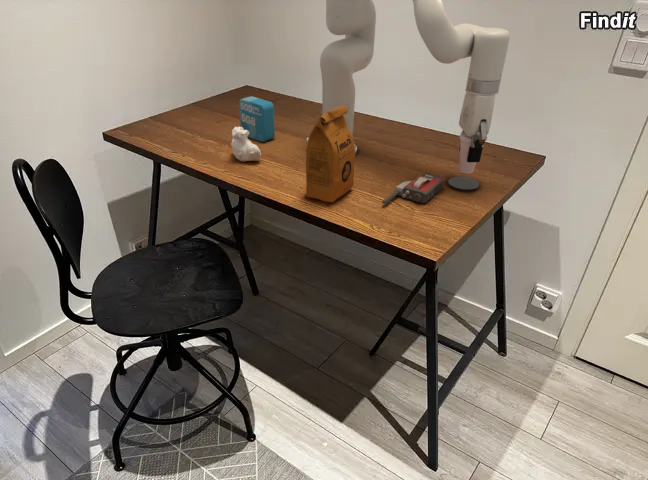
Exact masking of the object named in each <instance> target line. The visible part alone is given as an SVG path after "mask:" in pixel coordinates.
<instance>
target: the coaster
mask: <svg viewBox="0 0 648 480" xmlns="http://www.w3.org/2000/svg"><path fill="white" fill-rule="evenodd" d="M447 185H448V186H449V188H451V189H452V190H455V191H459V192H473V191H476V190H479V188H480V183H479V181H478V180H476V179H474V178H471V177H468V176H453V177H451V178H449V179H448V180H447Z"/></svg>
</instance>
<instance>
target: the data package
mask: <svg viewBox="0 0 648 480" xmlns="http://www.w3.org/2000/svg"><path fill="white" fill-rule="evenodd" d="M238 105H239V120H240V127H243V129H244V130H247V131H249V133H250V134H249V135H248V137H247V138H250V139H253V140H256V141H258V142H260V143H265V142H268V141H271V140H273V139H274V138H275V136H276V133H275V131H276V130H275V107H274V103H273V102H271V101H269V100H266V99H262V98H259V97H256V96H252V95H251V96H246V97H243V98H240V100H239V102H238Z"/></svg>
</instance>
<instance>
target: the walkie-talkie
mask: <svg viewBox="0 0 648 480" xmlns="http://www.w3.org/2000/svg"><path fill="white" fill-rule="evenodd" d="M444 181H445V179H444V178H443V177H442V176H440V175H437V174H432V173H428V172H424V173H421V174H420V175H418V176H417V177H415V178H414V179H413V180H407V181H402V182H401V183H400V184H398V185H396V186H395V187H394V192H392V193H391V194H390V195H389V196H387V197H385V198H384V199H383V200H382V201H381V203H382V204H383V205H386V204H387V203H389V202H390V201H391V200H392V199H394V198H395V197H397V196H401V197H402V198H403V199H406V200H409V201H413V202H416V203H420V204H426V203H427V202H428V201H429V200H431V199H432V198H433V197H434V196H435V195H436V194H438V193H439V192H440V191H442V189H443V187H444V183H445V182H444Z"/></svg>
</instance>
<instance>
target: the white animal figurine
mask: <svg viewBox="0 0 648 480" xmlns="http://www.w3.org/2000/svg"><path fill="white" fill-rule="evenodd" d="M249 134H250V133H249V131H247V130H244V129H243V127H241V126H234V127H233V128H232V130H231V136H232V140H231V143H230V146H231V148H232V149H231V151H232V154H233V156H234V157H235V158H236V159H237V160H238V161H240V162H244V163H245V162H252V161H253V162H259V161H261V159H262V152H261V150H260V148H259V146H258V145H257V144H256V143H255V144H254V143H253V142H252V141H251V140H250V139H249V137H248V135H249Z"/></svg>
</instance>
